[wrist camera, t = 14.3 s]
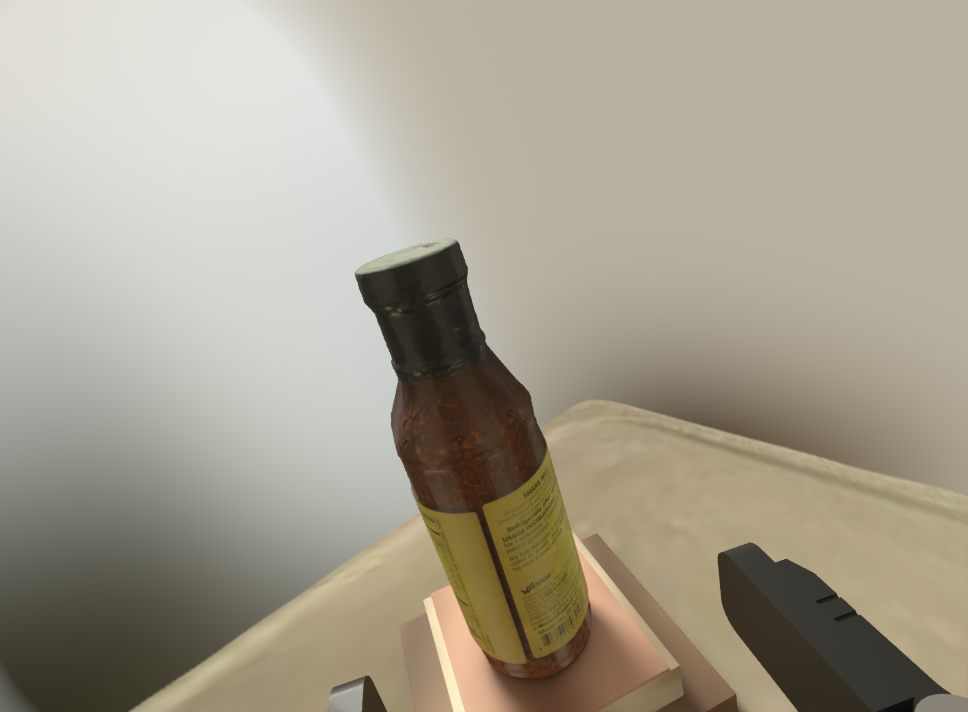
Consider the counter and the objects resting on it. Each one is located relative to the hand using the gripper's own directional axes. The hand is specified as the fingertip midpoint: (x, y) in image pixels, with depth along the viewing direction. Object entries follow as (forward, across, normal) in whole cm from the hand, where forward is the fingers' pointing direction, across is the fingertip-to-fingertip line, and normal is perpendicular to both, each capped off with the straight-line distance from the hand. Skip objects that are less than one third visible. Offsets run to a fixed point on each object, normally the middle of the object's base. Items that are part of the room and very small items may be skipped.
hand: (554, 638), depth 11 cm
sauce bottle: (+11, 0, +12) cm, 16 cm away
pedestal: (+11, 0, +16) cm, 19 cm away
